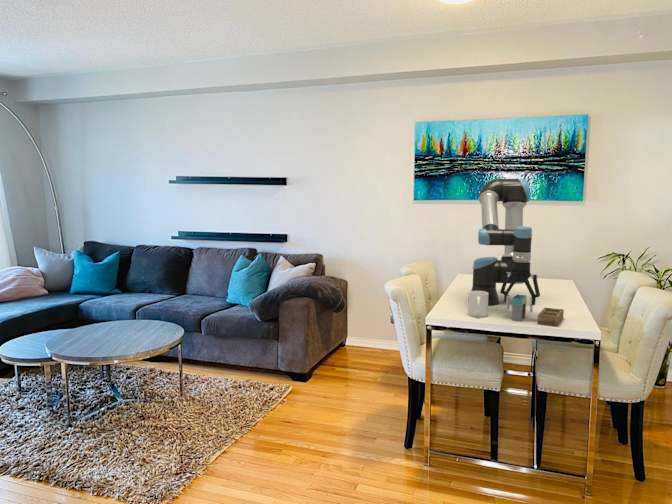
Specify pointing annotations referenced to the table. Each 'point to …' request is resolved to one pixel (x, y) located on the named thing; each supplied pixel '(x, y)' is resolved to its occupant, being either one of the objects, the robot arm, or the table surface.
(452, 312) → the table surface
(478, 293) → the mug
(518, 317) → the tall teal block
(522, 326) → the table surface
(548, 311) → the brown wooden frame
